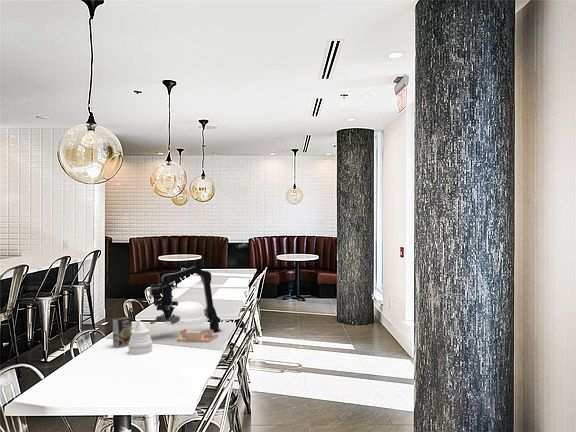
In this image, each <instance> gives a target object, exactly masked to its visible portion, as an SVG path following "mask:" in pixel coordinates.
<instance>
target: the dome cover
mask: <svg viewBox="0 0 576 432" xmlns="http://www.w3.org/2000/svg"><path fill="white" fill-rule="evenodd" d="M172 306H173V307H175V308H174V310H173V312H172V315H173V314H175V315H177V316H180V321H179V322H177V323H175V324H171V322H165V324H166V325H168V326H176V327H177V326H180V327H181V326H182V327H184V326H195V325H201V324H205V323H207V322H208V321H209V320H208V318H206V316H205V315H204V314H205V312H204V309H205V306H204V305H202V304H201V303H199V302H197V301H190V300H188V301H178V306H175V305H172ZM172 315H171V316H172Z"/></svg>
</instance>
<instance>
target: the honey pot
mask: <svg viewBox="0 0 576 432" xmlns="http://www.w3.org/2000/svg"><path fill="white" fill-rule="evenodd" d="M135 323H136V324H135V325H134V328H132V331H131V333H132V335H131V337H130V342H129V345H128V354H129V355H134V356H135V355H146V354H150V353H152V352H153V341H152V338H151V335H150V329H148V328H147V326H146V325H145V324H144V322H143V321H141V319H136V320H135Z"/></svg>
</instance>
